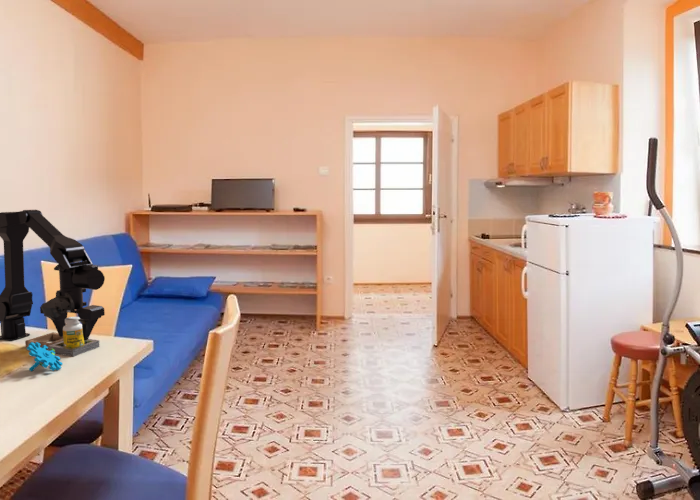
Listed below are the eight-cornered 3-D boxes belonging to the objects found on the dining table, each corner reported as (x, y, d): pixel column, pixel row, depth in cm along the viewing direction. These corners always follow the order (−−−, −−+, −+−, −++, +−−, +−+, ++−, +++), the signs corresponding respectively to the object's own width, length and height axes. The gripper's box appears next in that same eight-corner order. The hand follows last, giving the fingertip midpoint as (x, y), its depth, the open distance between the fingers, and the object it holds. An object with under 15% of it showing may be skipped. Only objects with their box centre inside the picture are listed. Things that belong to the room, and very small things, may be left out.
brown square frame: (25, 347, 147) (25, 340, 147) (53, 338, 156) (53, 332, 156) (49, 351, 145) (49, 344, 144) (76, 341, 153) (76, 335, 153)
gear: (54, 370, 126) (24, 343, 125) (36, 387, 125) (5, 361, 124) (71, 361, 137) (43, 336, 136) (54, 377, 136) (26, 352, 135)
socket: (48, 352, 143) (47, 345, 143) (75, 343, 152) (75, 336, 152) (73, 356, 141) (72, 349, 140) (99, 346, 149) (99, 340, 149)
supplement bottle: (83, 345, 150) (81, 315, 149) (86, 350, 146) (84, 319, 145) (62, 348, 147) (61, 317, 146) (65, 354, 143) (63, 321, 141)
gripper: (21, 288, 139) (24, 342, 141) (72, 294, 133) (75, 350, 135) (55, 281, 150) (58, 331, 152) (105, 287, 144) (107, 338, 146)
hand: (73, 338), depth 146 cm, fingers open, 9 cm apart
